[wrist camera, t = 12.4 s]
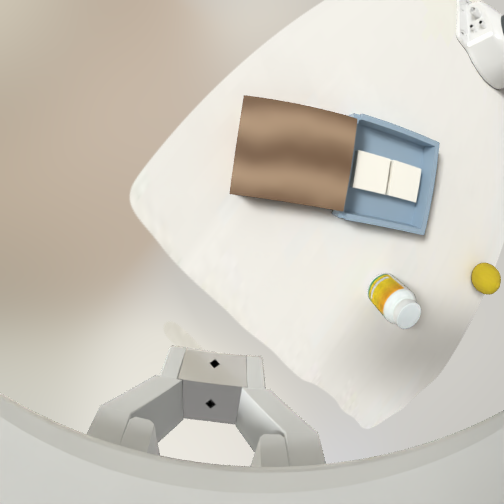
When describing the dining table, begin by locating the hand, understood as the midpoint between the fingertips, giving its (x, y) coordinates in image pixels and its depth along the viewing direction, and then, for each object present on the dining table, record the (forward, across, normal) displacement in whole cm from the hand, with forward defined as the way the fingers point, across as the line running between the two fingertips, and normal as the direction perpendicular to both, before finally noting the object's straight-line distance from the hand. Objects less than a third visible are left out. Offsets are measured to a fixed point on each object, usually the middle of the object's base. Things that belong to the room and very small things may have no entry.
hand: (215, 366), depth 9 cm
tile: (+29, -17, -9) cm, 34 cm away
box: (+29, -20, -9) cm, 37 cm away
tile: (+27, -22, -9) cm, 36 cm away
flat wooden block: (+29, -6, -9) cm, 31 cm away
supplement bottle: (+30, -24, +8) cm, 39 cm away
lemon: (+30, -46, +3) cm, 55 cm away
